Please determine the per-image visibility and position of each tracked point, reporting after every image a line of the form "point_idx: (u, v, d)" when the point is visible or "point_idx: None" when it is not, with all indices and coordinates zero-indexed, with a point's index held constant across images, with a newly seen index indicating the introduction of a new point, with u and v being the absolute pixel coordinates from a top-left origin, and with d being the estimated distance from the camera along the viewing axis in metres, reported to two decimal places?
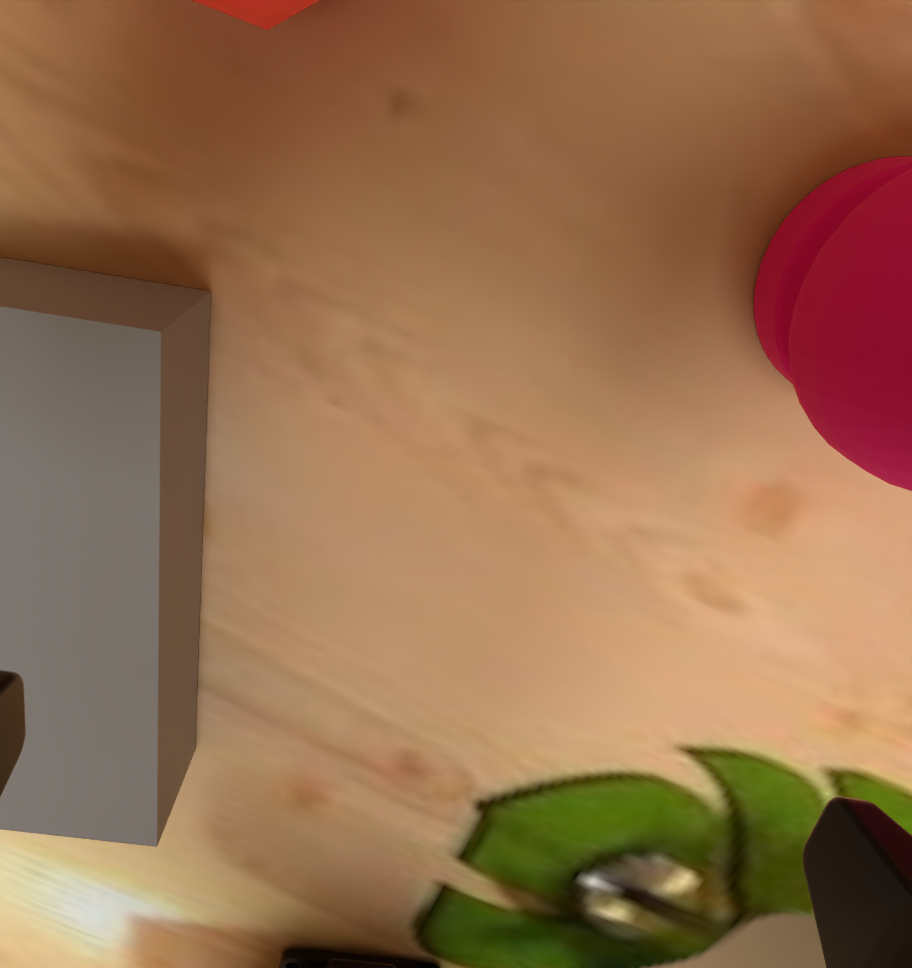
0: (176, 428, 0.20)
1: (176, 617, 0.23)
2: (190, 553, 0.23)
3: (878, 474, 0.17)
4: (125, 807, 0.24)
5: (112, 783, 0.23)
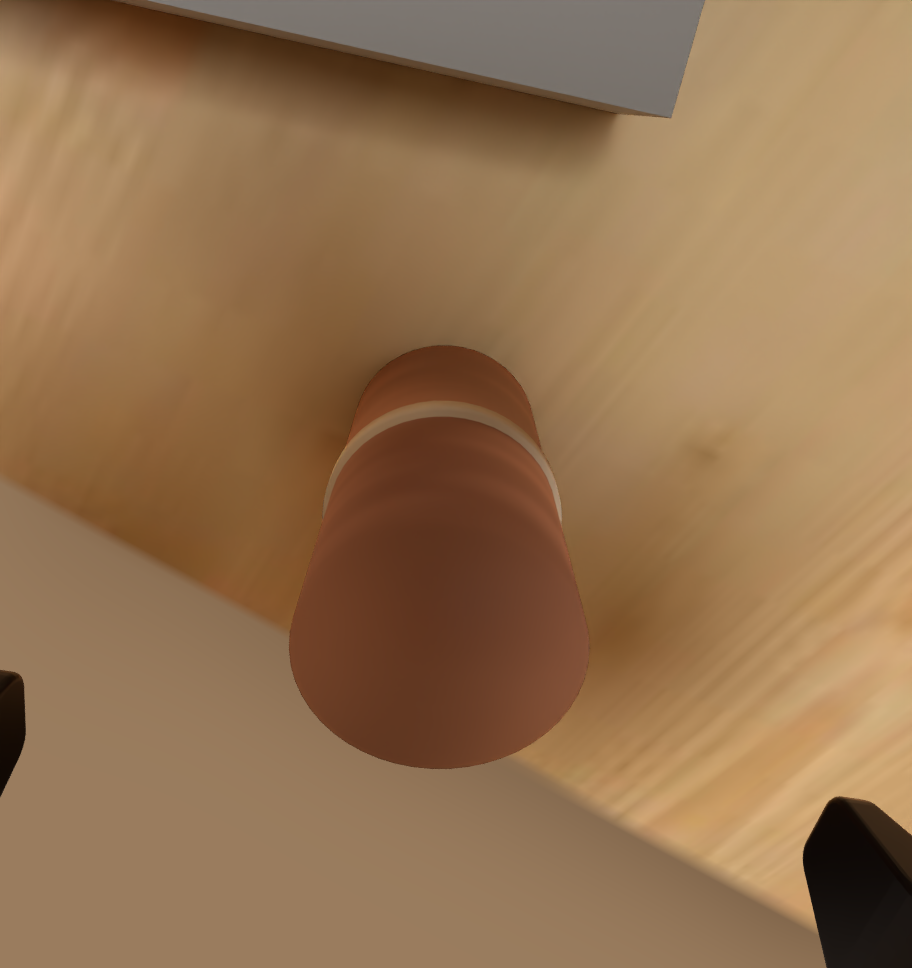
0: None
1: None
2: None
3: None
4: None
5: None
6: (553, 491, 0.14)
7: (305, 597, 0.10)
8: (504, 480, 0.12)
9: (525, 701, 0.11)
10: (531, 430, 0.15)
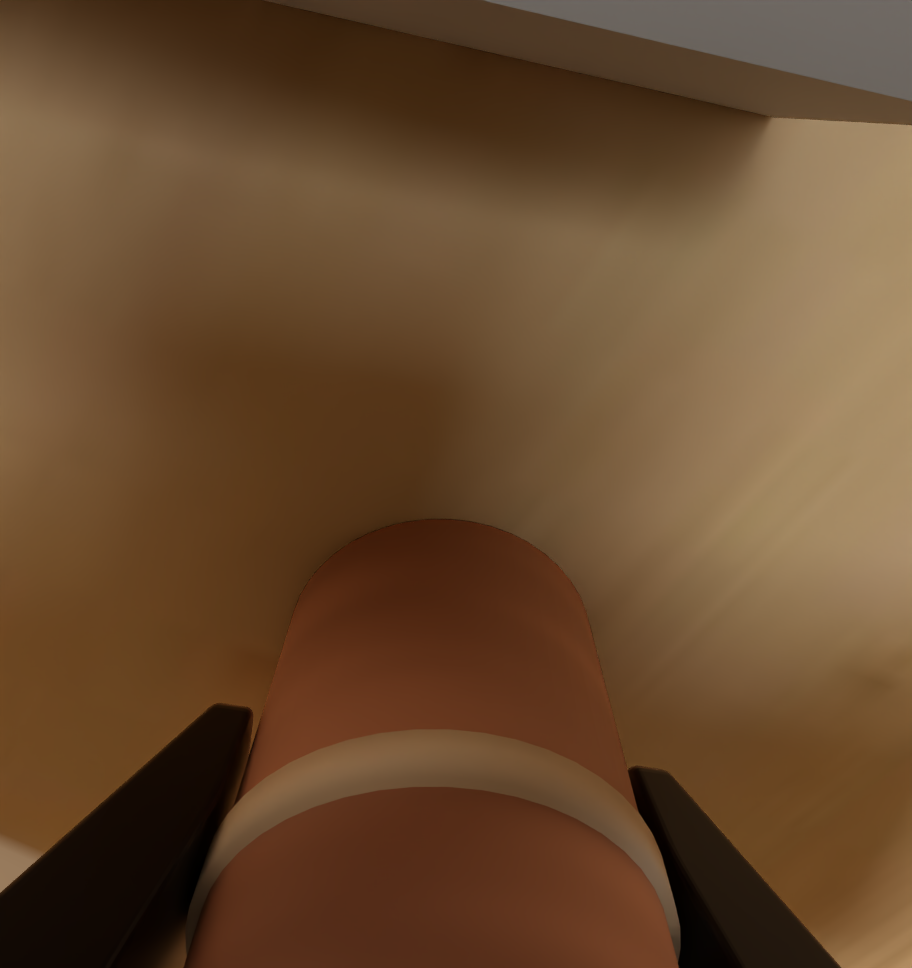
0: None
1: None
2: None
3: None
4: None
5: None
6: (666, 910, 0.07)
7: None
8: None
9: None
10: (606, 727, 0.08)
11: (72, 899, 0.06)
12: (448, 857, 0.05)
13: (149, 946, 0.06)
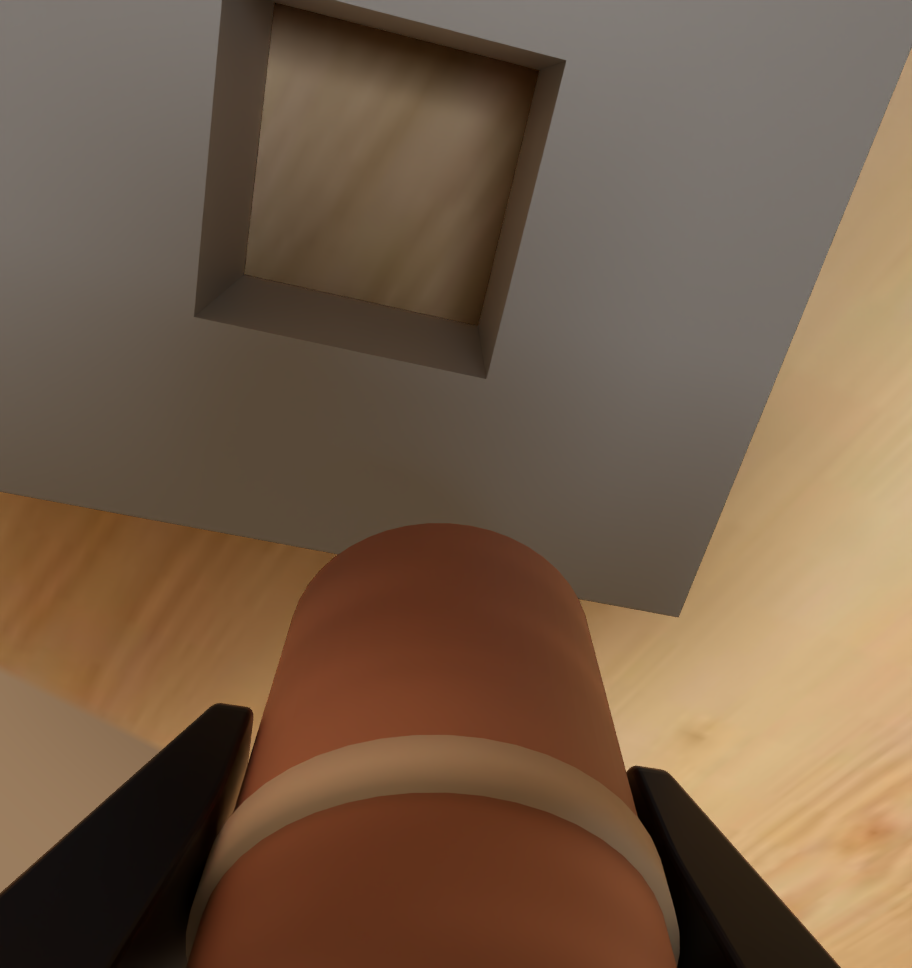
0: None
1: None
2: None
3: None
4: None
5: None
6: (665, 914, 0.07)
7: None
8: None
9: None
10: (605, 731, 0.08)
11: (72, 899, 0.06)
12: (448, 863, 0.05)
13: (149, 946, 0.06)
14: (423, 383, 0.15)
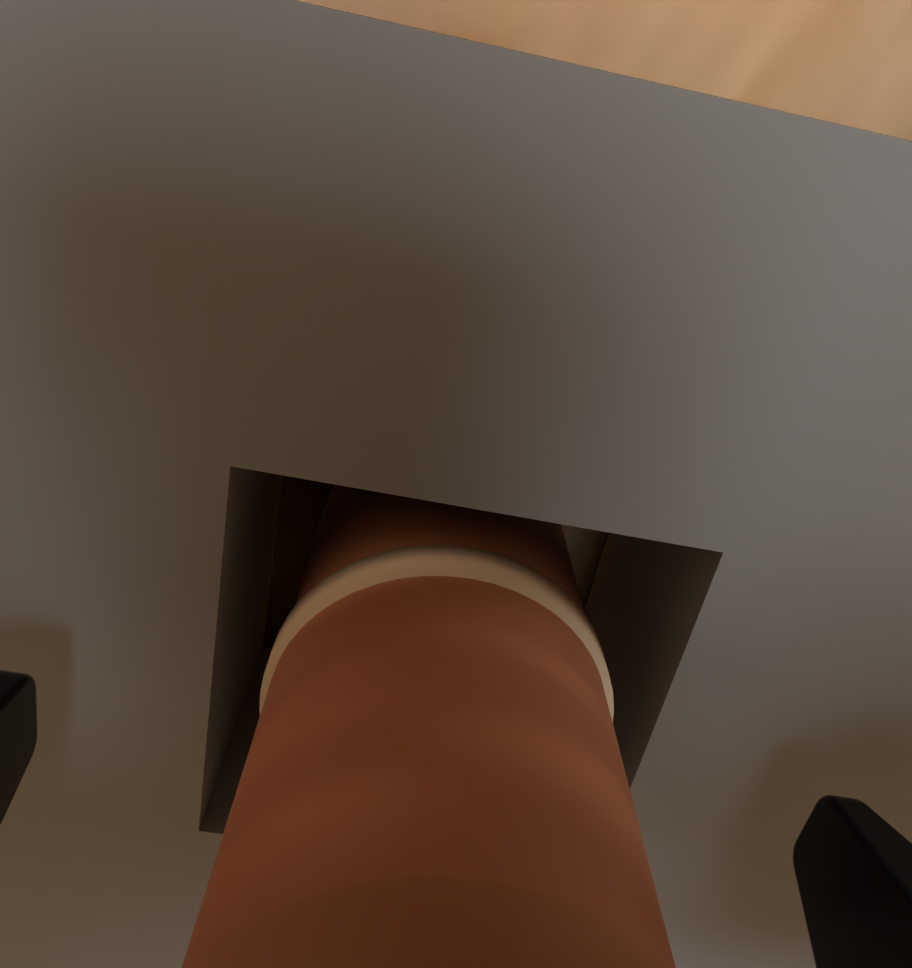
0: None
1: None
2: None
3: None
4: None
5: None
6: (602, 677, 0.09)
7: None
8: (538, 718, 0.07)
9: None
10: (565, 568, 0.11)
11: None
12: (447, 609, 0.08)
13: None
14: None
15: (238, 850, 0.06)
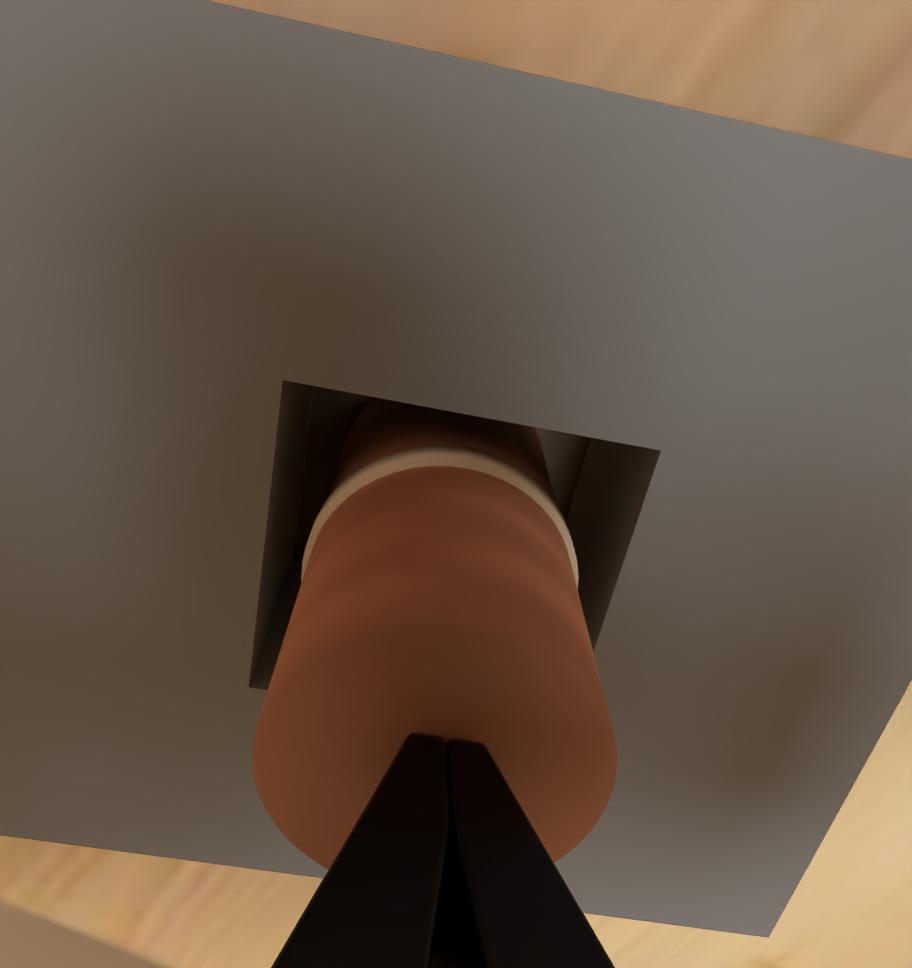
0: None
1: None
2: None
3: None
4: None
5: None
6: (568, 550, 0.12)
7: (270, 705, 0.08)
8: (514, 551, 0.10)
9: (538, 822, 0.09)
10: (542, 475, 0.13)
11: (362, 936, 0.06)
12: (448, 485, 0.11)
13: None
14: None
15: (301, 630, 0.09)
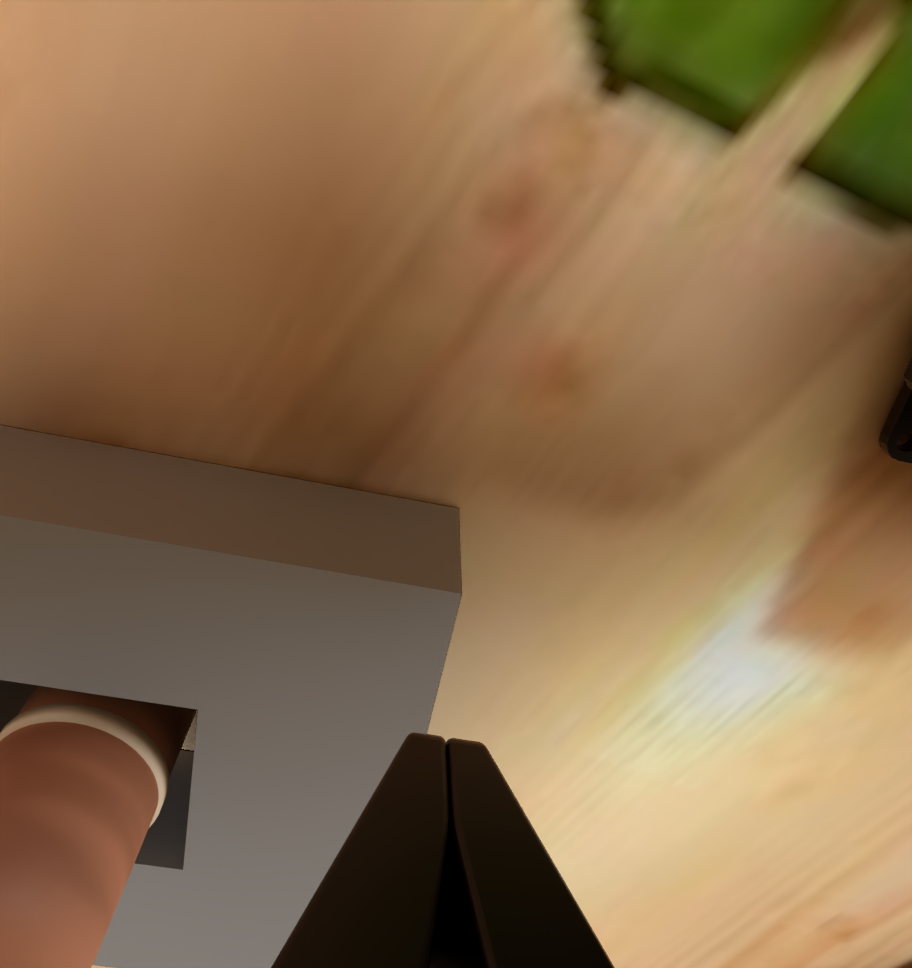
0: None
1: (138, 500, 0.18)
2: (96, 466, 0.19)
3: None
4: (384, 617, 0.17)
5: (342, 624, 0.18)
6: (150, 767, 0.19)
7: None
8: (62, 796, 0.17)
9: (62, 958, 0.16)
10: (158, 704, 0.20)
11: (362, 936, 0.06)
12: (51, 741, 0.18)
13: None
14: (138, 872, 0.21)
15: None
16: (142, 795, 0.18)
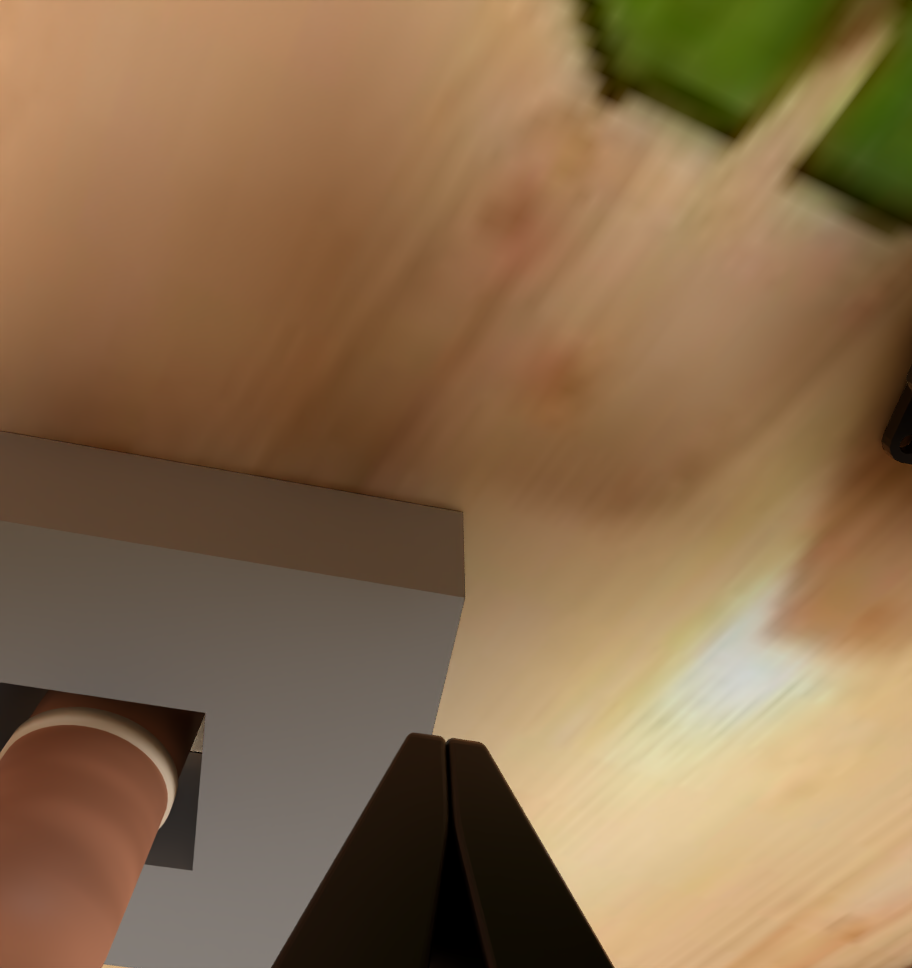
0: None
1: (145, 506, 0.18)
2: (104, 473, 0.19)
3: None
4: (389, 621, 0.18)
5: (346, 628, 0.18)
6: (159, 769, 0.19)
7: None
8: (72, 799, 0.17)
9: (73, 958, 0.16)
10: (167, 707, 0.20)
11: (362, 936, 0.06)
12: (61, 744, 0.18)
13: None
14: (148, 873, 0.21)
15: None
16: (151, 797, 0.19)
